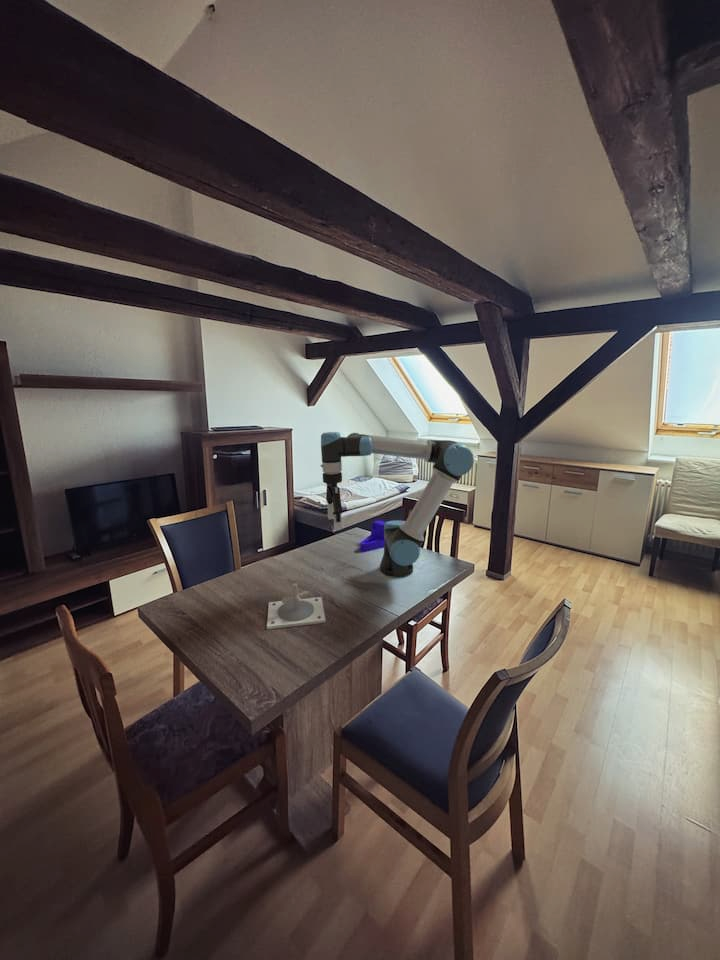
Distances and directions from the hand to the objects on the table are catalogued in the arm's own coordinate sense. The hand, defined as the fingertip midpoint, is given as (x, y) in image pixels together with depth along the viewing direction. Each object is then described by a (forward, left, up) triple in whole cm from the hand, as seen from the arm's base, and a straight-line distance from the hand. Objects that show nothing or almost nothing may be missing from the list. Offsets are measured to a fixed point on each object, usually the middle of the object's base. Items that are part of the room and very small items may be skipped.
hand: (334, 524), depth 152 cm
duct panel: (+17, +17, -28) cm, 36 cm away
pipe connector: (+17, +17, -26) cm, 35 cm away
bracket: (-25, -39, -28) cm, 54 cm away
